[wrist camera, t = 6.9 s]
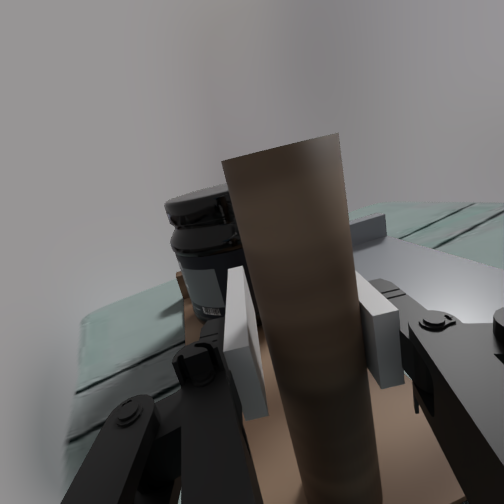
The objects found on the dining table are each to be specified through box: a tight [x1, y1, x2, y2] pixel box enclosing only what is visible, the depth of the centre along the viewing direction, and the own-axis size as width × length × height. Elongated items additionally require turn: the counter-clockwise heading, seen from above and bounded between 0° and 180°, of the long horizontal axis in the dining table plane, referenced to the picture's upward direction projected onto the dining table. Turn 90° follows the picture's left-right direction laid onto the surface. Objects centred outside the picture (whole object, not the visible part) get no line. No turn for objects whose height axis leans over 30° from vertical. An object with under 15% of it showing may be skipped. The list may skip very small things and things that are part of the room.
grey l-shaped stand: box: [349, 213, 504, 323], centre depth 24 cm, size 28×13×14 cm, turn 14°
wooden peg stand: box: [176, 133, 467, 504], centre depth 21 cm, size 28×13×14 cm, turn 14°
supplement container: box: [164, 183, 262, 327], centre depth 27 cm, size 10×10×12 cm
